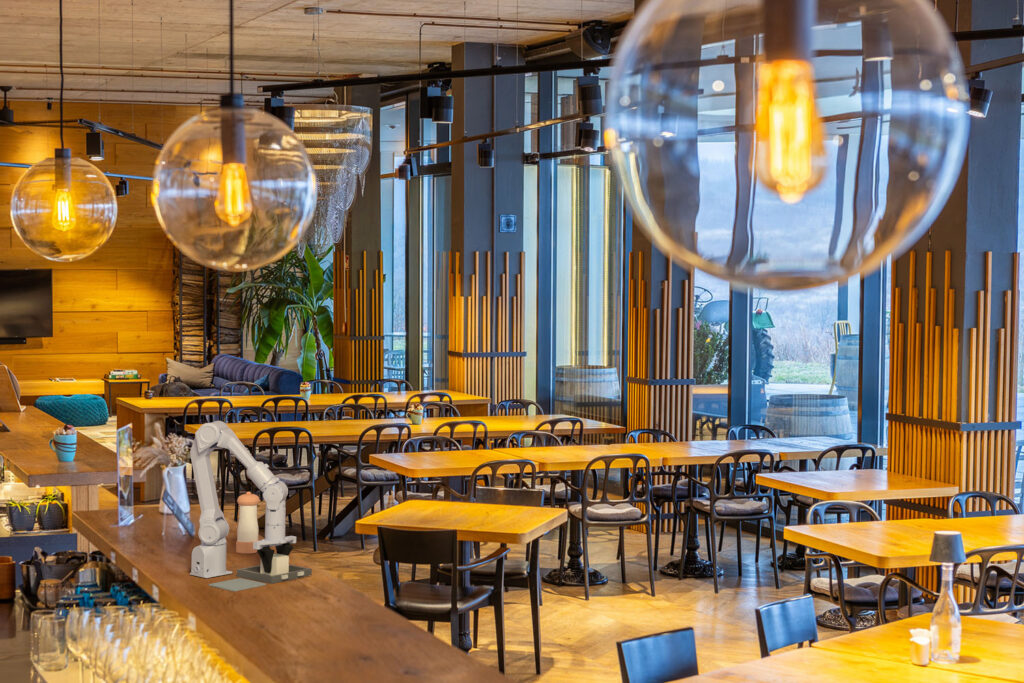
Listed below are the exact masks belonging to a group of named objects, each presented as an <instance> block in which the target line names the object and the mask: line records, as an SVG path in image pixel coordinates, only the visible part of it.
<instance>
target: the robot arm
mask: <svg viewBox="0 0 1024 683" xmlns="http://www.w3.org/2000/svg"><path fill="white" fill-rule="evenodd" d="M217 447H218V448H223V449H227V450H228V451H229V452H231V453H232V455H233V456H234V457H235V458H236V459H237V460H238V461H239V462H241V464H242V465H243V466H244V467H245V468H246V476H247V477H248V478H249V479H250V480H251V481H252V482H253V483H254V485H255V486H256V487H257V488H258V490H259V491H261V492H263V493H262V498H263V499H264V502H265V511H264V512H265V513H264V514H265V516H264V518H265V519H264V522H265V523H264V525H265V526H264V538H263V539H259V541H257V542H253V549H256V550H257V552H256V553H258V555H259V558H260V561H261V560H262V564H263V568H264V572H266V573H271V569H272V558H273V554H274V553H275V551H276V554H282V555H287V556H290V554H291V552H292V551H293V549H294V545H292V544H296V543H297V535H296V536H294V535H289V536H286V498H287V496H288V494H289V489H288V485H287V484H286V482H284V481H282V480H280V478H279V477H278V476H277V477H276V475H275V474H274V473H273V472H272V471H271V470H270V469H269V468H270V465H269V464H268V463H264V462H263V461H257V460H256V459H255V458H254V456H252V454H251V453H250V451H249V450H248V449H247V448H246V446H245V445H244V444H243V443H242V441H241V440H240V439H239V438H238V436H237V435H236V434H235V432H234V430H232V429H231V427H229V426H228V425H227V423H225V422H224V421H222V420H215V421H212V422H205V423H203V424H201V425H200V427H199V428H198V429H197V430H196V431H195V435H194V439H193V442H192V445H191V448H190V451H189V454H190V459H191V460H190V461H191V465H192V470H193V476H194V481H195V487H196V492H197V496H198V504H199V506H200V511H201V512H200V515H199V520H198V522H199V529H198V537H199V540H200V544H199V545H197V546H195V547H194V548H193V549H192V552H191V563H190V564H191V570H190V571H191V572H189V575H191V576H196V577H200V578H205V579H209V578H213V577H219V576H224V575H225V576H226V575H230V574H233V571H232V570H227V542H228V541H227V539H226V537H227V536H228V535H229V533H230V525H229V523H228V521H227V520H226V518H225V515H224V512H223V511H222V509H221V508H220V504H219V498H218V493H217V487H216V483H215V479H214V478H215V477H214V472H213V468H212V462H211V457H210V456H211V454H212V453H213V451H214V450H215V449H216V448H217ZM272 547H275V549H272Z"/></svg>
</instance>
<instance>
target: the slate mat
mask: <svg viewBox="0 0 1024 683" xmlns="http://www.w3.org/2000/svg"><path fill="white" fill-rule="evenodd" d="M266 585H267V583H265V582H261V581H256V580H251V579H247V578H242V577H238V578H234V579H228V580H222V581H219V582H217V581H216V582H214V583H208V586H209V587H212V588H218V589H222V590H226V591H231V592H238V591H243V590H248V589H254V588H259V587H264V586H266Z"/></svg>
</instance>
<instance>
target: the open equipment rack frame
mask: <svg viewBox="0 0 1024 683" xmlns="http://www.w3.org/2000/svg"><path fill="white" fill-rule="evenodd" d="M260 565H261V564H258V565H253V566H252V565H251V566H248V567H242V568H237V569H236V577H238V578H243V579H247V580H252V581H256V582H261V583H265V584H271V585H273V584H278V583H282V582H288V581H293V580H297V578H298V579H301V577H303V578H306V577H305V576H307V577H310V576H309V575H312V568H309V567H305V566H300V565H296V564H295V565H294V564H291V563H290V564H289V572H288V573H283V574H278V575H273V576H271V575H266V574H262V573H260Z"/></svg>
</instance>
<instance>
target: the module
mask: <svg viewBox="0 0 1024 683" xmlns="http://www.w3.org/2000/svg"><path fill="white" fill-rule="evenodd" d="M289 556H290V555H289ZM289 556H287V555H282V554H277V552H276V553H275V552H274V554H273V558H272V569H271V573H266V572H264V568H263V564H262V560H261V559H260V564H259V565H260V573H262V574H266V575H271V576H273V575H278V574H283V573H288V572H289V562H290V557H289Z"/></svg>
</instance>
